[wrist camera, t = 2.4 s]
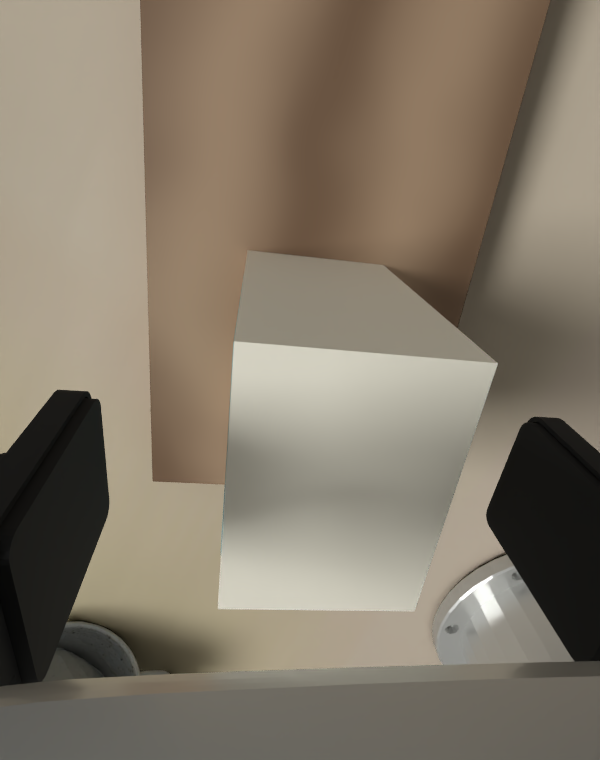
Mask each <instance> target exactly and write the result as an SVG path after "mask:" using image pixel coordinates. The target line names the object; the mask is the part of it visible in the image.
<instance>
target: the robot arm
mask: <svg viewBox="0 0 600 760" xmlns="http://www.w3.org/2000/svg"><path fill="white" fill-rule="evenodd" d="M108 510H109V492H108V481H107V470H106V459H105V448H104V437H103V426H102V415H101V405H100V401H99V400H98V399H91V396H90V393H89V392H88V391H70V390H57V391H55V392H54V393H53V395H52V396H51V397H50V398H49V400H48V401H47V402H46V404H45V405H44V406H43V407H42V409H41V410H40V411H39V412H38V414H37V415H36V416H35V417H34V419H33V420H32V421H31V422H30V424H29V425H28V426H27V428H26V429H25V430H24V431H23V433H22V434H21V435H20V436H19V438H18V439H17V440H16V441H15V443H14V444H13V445H12V446H11V448H10V449H9V450H8V451H7V453H3V454H0V760H600V453H599V452H598V451H597V450H596V449H595V448H594V447H593V446H591V445H590V444H589V443H588V442H587V441H586V440H585V439H583V438H582V437H581V436H580V435H579V434H578V433H577V432H575V431H574V430H573V429H572V428H571V427H570V426H569V425H568V424H566V423H565V422H564V421H563V420H561V419H559V418H547V417H533V418H531V419H530V420H529V421H528V422H527V423H524V424H523V425H522V426H521V428H520V430H519V433H518V435H517V437H516V440H515V442H514V445H513V447H512V450H511V452H510V455H509V457H508V460H507V462H506V464H505V467H504V469H503V472H502V474H501V477H500V479H499V482H498V484H497V486H496V489H495V491H494V494H493V496H492V499H491V501H490V504H489V506H488V509H487V514H486V517H487V522H488V525H489V527H490V528H491V530H492V531H493V533H494V535H495V536H496V538H497V539H498V541H499V543H500V544H501V546H502V547H503V549H504V551H505V552H506V554H507V555H504V556H502V557H499V558H497V559H494V560H492V561H490V562H489V563H487V564H485V565H483V566H481V567H479V568H478V569H476V570H475V571H473V572H472V573H471V574H469V575H468V576H466V577H465V578H464V579H462V580H461V581H460V582H459V583H458V584H457V585H456V586H455V587H454V588H453V589H452V590H451V591H450V592H449V593H448V595H447V596H446V598H445V599H444V600H443V602H442V603H441V605H440V606H439V608H438V610H437V613H436V615H435V617H434V621H433V627H432V637H433V643H434V646H435V649H436V651H437V654H438V657H439V660H440V661H441V663H442V664H443V665H425V666H390V667H356V668H327V669H297V670H268V671H239V672H209V673H183V674H163V675H144V676H125V677H105V678H86V679H68V680H58V681H48V682H41V681H43V679H44V678H45V676H46V674H47V672H48V669H49V667H50V664H51V662H52V659H53V656H54V654H55V651H56V649H57V646H58V643H59V641H60V638H61V636H62V633H63V630H64V628H65V625H66V623H67V620H68V618H69V615H70V612H71V610H72V607H73V605H74V602H75V599H76V597H77V594H78V592H79V589H80V586H81V584H82V581H83V579H84V576H85V573H86V571H87V568H88V566H89V563H90V560H91V558H92V555H93V553H94V550H95V547H96V545H97V542H98V540H99V537H100V534H101V532H102V529H103V527H104V524H105V521H106V519H107V515H108ZM34 682H38V683H34Z"/></svg>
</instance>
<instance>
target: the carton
mask: <svg viewBox="0 0 600 760" xmlns="http://www.w3.org/2000/svg"><path fill="white" fill-rule="evenodd" d="M497 365H498V363H497V362H496V361H495V360H494V359H492V358H491V357H490V356H489V355H488V354H487V353H485V352H484V351H483V350H482V349H481V348H480V347H478V346H477V345H476V344H475V343H474V342H473V341H471V340H470V339H469V338H468V337H467V336H466V335H464V334H463V333H462V332H461V331H460V330H459V329H457V328H456V327H455V326H454V325H453V324H452V323H450V322H449V321H448V320H447V319H446V318H445V317H443V316H442V315H441V314H440V313H439V312H438V311H436V310H435V309H434V308H433V307H432V306H431V305H429V304H428V303H427V302H426V301H425V300H424V299H422V298H421V297H420V296H419V295H418V294H417V293H415V292H414V291H413V290H412V289H411V288H410V287H408V286H407V285H406V284H405V283H404V282H403V281H401V280H400V279H399V278H398V277H397V276H396V275H394V274H393V273H392V272H391V271H390V270H389V269H387V268H386V267H385V266H384V265H379V264H369V263H360V262H351V261H342V260H333V259H323V258H314V257H305V256H296V255H286V254H277V253H268V252H259V251H250V250H248V251H247V258H246V265H245V272H244V276H243V283H242V289H241V296H240V302H239V309H238V316H237V322H236V329H235V335H234V342H233V357H232V374H231V391H230V407H229V424H228V441H227V457H226V474H225V490H224V507H223V524H222V540H221V565H220V581H219V598H218V609H259V610H344V611H415V608H416V605H417V602H418V599H419V596H420V593H421V590H422V587H423V584H424V581H425V578H426V575H427V572H428V569H429V567H430V564H431V561H432V558H433V555H434V552H435V549H436V546H437V543H438V540H439V537H440V534H441V531H442V528H443V525H444V522H445V519H446V516H447V513H448V510H449V507H450V504H451V501H452V498H453V495H454V492H455V489H456V486H457V484H458V481H459V478H460V475H461V472H462V469H463V466H464V463H465V460H466V457H467V454H468V451H469V448H470V445H471V442H472V439H473V436H474V433H475V430H476V427H477V424H478V421H479V418H480V415H481V412H482V409H483V406H484V403H485V400H486V398H487V395H488V392H489V389H490V386H491V383H492V380H493V377H494V374H495V371H496V368H497Z"/></svg>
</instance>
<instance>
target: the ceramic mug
mask: <svg viewBox="0 0 600 760" xmlns="http://www.w3.org/2000/svg"><path fill="white" fill-rule="evenodd" d="M163 674H169V673H168V672H166V671H164V670H149V671H140V670H139V667H138V663H137V661H136V659H135V656H134V654H133V653H132V651H131V650H130V648H129V647H128V646H127V644H126V643H125V642H124V641H123V640H122V639H121V638H120V637H119V636H117V635H116V634H114V633H113V632H112V631H110V630H108V629H106V628H104V627H102V626H99V625H96V624H92V623H87V622H82V621H74V622H67V623H66V625H65V628H64V630H63V633H62V636H61V638H60V641H59V643H58V646H57V649H56V651H55V654H54V656H53V659H52V662H51V664H50V667H49V669H48V672H47V674H46V676H45V678H44V679H43V681H41V682H48V681H58V680H68V679H86V678H105V677H125V676H144V675H163ZM34 683H38V682H34Z"/></svg>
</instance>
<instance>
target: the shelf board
mask: <svg viewBox="0 0 600 760" xmlns="http://www.w3.org/2000/svg"><path fill="white" fill-rule="evenodd" d="M549 4H550V0H140V9H141V48H142V86H143V125H144V163H145V202H146V241H147V279H148V318H149V356H150V395H151V433H152V472H153V481H159V482H181V483H203V484H225V474H226V457H227V441H228V424H229V407H230V391H231V374H232V357H233V342H234V335H235V329H236V322H237V316H238V309H239V302H240V296H241V289H242V283H243V276H244V272H245V265H246V258H247V251H248V250H250V251H259V252H268V253H277V254H286V255H296V256H305V257H314V258H323V259H333V260H342V261H351V262H360V263H369V264H379V265H384V266H385V267H386V268H387V269H389V270H390V271H391V272H392V273H393V274H394V275H396V276H397V277H398V278H399V279H400V280H401V281H403V282H404V283H405V284H406V285H407V286H408V287H410V288H411V289H412V290H413V291H414V292H415V293H417V294H418V295H419V296H420V297H421V298H422V299H424V300H425V301H426V302H427V303H428V304H429V305H431V306H432V307H433V308H434V309H435V310H436V311H438V312H439V313H440V314H441V315H442V316H443V317H445V318H446V319H447V320H448V321H449V322H450V323H452V324H453V325H454V326H455V327H456V328H457V327H458V324H459V320H460V317H461V313H462V310H463V306H464V303H465V299H466V296H467V292H468V289H469V285H470V282H471V278H472V275H473V271H474V268H475V264H476V260H477V257H478V253H479V250H480V246H481V243H482V239H483V236H484V232H485V229H486V225H487V222H488V218H489V215H490V211H491V208H492V204H493V201H494V197H495V194H496V190H497V187H498V183H499V180H500V176H501V173H502V169H503V166H504V162H505V158H506V155H507V151H508V148H509V144H510V141H511V137H512V134H513V130H514V127H515V123H516V120H517V116H518V113H519V109H520V106H521V102H522V99H523V95H524V92H525V88H526V85H527V81H528V78H529V74H530V71H531V67H532V64H533V60H534V56H535V53H536V49H537V46H538V42H539V39H540V35H541V32H542V28H543V25H544V21H545V18H546V14H547V11H548V7H549Z"/></svg>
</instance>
